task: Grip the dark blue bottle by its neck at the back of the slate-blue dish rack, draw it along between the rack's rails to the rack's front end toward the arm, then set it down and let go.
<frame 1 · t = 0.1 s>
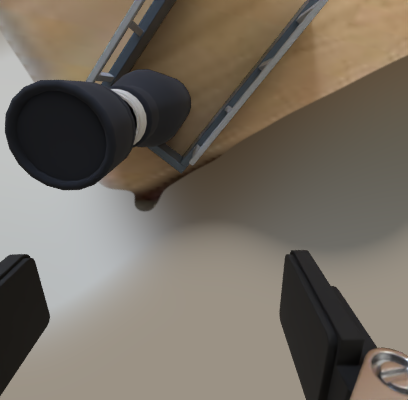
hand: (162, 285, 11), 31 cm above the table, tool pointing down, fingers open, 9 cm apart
dish rack: (202, 54, 36), on the table
dark blue bottle: (167, 102, 38), resting in dish rack
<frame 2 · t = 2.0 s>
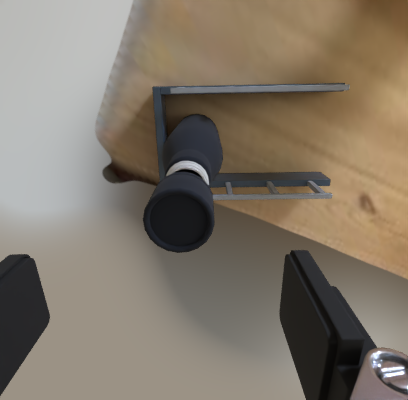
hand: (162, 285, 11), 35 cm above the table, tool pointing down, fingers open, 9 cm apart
dish rack: (246, 134, 43), on the table
dark blue bottle: (196, 135, 43), resting in dish rack
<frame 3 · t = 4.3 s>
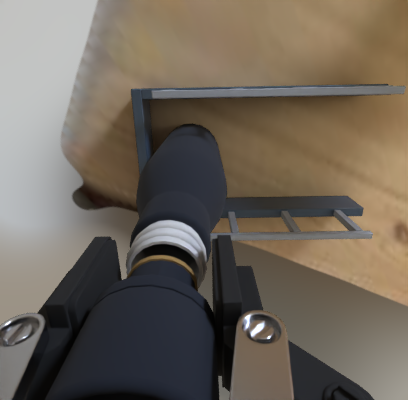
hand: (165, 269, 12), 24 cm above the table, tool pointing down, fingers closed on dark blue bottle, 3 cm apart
dish rack: (254, 150, 34), on the table
dark blue bottle: (191, 150, 34), resting in dish rack, touching gripper
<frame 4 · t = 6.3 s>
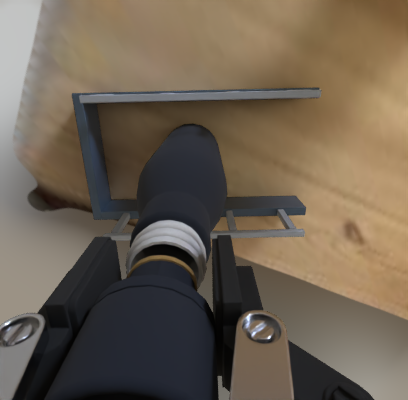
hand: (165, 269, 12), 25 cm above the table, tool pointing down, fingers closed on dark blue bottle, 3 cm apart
dish rack: (202, 151, 35), on the table
dark blue bottle: (191, 150, 34), point 1 cm above the table, touching gripper
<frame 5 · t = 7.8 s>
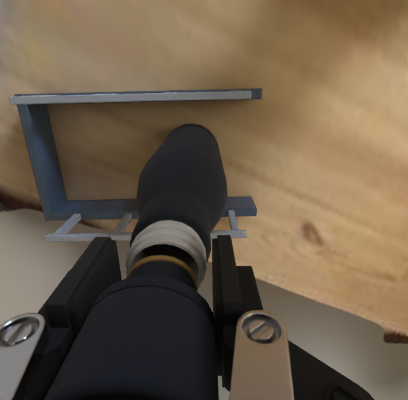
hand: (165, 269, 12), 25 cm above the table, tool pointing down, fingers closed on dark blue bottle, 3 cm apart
dish rack: (155, 152, 35), on the table
dark blue bottle: (191, 150, 34), point 1 cm above the table, touching gripper
when the fingers open (24 cm above the table, at t = 8.6 s): dark blue bottle stays where it is, resting in dish rack.
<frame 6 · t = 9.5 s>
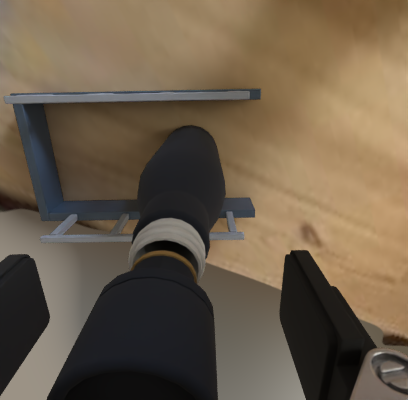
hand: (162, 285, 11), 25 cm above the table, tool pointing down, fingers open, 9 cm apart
dish rack: (152, 152, 34), on the table
dark blue bottle: (190, 151, 34), resting in dish rack
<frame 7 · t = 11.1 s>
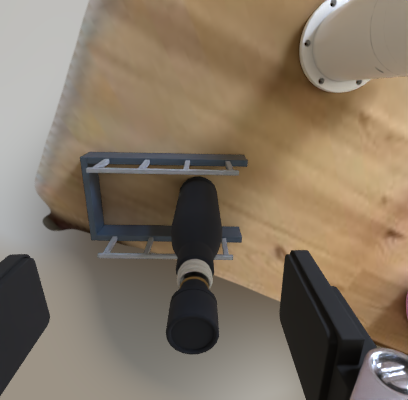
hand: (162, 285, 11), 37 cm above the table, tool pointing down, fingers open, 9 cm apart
dish rack: (171, 193, 48), on the table
dark blue bottle: (198, 194, 49), resting in dish rack
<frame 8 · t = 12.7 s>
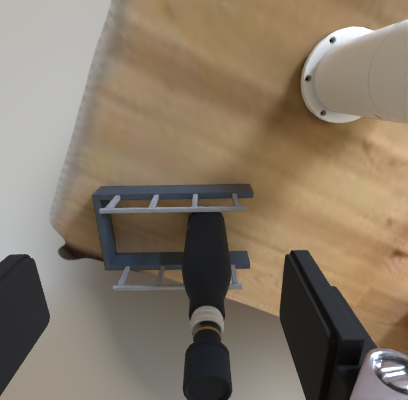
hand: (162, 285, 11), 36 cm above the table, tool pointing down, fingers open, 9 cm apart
dish rack: (180, 222, 50), on the table
dark blue bottle: (206, 221, 50), resting in dish rack
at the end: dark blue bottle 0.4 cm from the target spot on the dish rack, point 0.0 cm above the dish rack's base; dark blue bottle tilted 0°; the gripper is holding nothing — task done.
